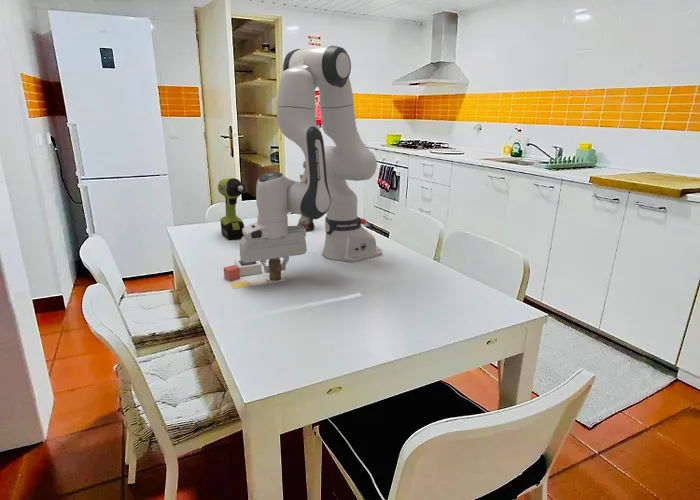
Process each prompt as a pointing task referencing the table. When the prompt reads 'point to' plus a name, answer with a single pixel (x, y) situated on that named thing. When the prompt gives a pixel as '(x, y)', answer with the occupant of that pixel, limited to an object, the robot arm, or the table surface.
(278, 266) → the pawn
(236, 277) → the red cube
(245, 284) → the board
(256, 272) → the housing
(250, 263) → the dome
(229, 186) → the cordless drill
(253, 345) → the table surface
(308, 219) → the statue
